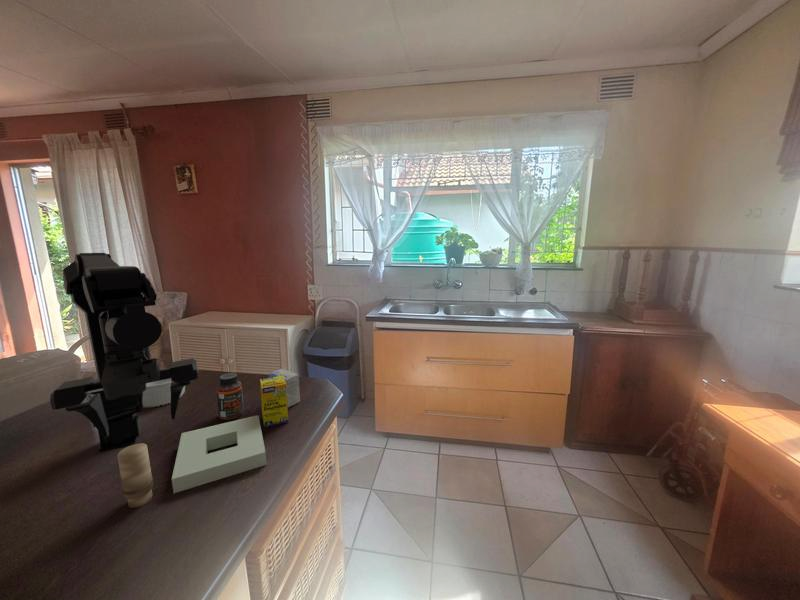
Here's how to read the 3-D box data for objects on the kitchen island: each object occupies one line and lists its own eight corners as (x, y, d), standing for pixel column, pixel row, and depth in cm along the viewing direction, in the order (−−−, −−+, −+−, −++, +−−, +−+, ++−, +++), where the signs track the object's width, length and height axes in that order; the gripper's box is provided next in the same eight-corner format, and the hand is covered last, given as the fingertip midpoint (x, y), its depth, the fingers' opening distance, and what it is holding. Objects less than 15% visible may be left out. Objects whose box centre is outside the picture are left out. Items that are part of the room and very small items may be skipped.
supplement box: (264, 428, 78) (260, 388, 76) (262, 417, 83) (259, 378, 81) (288, 422, 81) (286, 383, 79) (285, 411, 86) (283, 374, 84)
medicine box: (300, 401, 92) (299, 374, 90) (287, 408, 88) (286, 379, 86) (283, 394, 96) (281, 368, 94) (270, 400, 92) (268, 373, 91)
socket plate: (173, 493, 58) (171, 479, 58) (183, 445, 72) (181, 433, 71) (266, 464, 66) (265, 452, 65) (259, 425, 79) (258, 415, 79)
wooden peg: (122, 513, 54) (113, 461, 52) (128, 496, 57) (120, 447, 56) (152, 503, 56) (145, 453, 54) (157, 487, 59) (150, 440, 58)
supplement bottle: (225, 424, 80) (221, 382, 78) (214, 416, 84) (210, 376, 82) (248, 414, 85) (244, 374, 83) (237, 407, 88) (233, 369, 86)
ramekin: (178, 384, 102) (175, 364, 101) (196, 396, 94) (193, 374, 93) (126, 401, 91) (122, 378, 90) (141, 415, 84) (137, 391, 83)
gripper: (23, 366, 41) (47, 473, 43) (191, 339, 52) (204, 428, 54) (54, 348, 51) (73, 438, 53) (191, 329, 61) (203, 405, 63)
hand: (141, 427), depth 55 cm, fingers open, 9 cm apart
